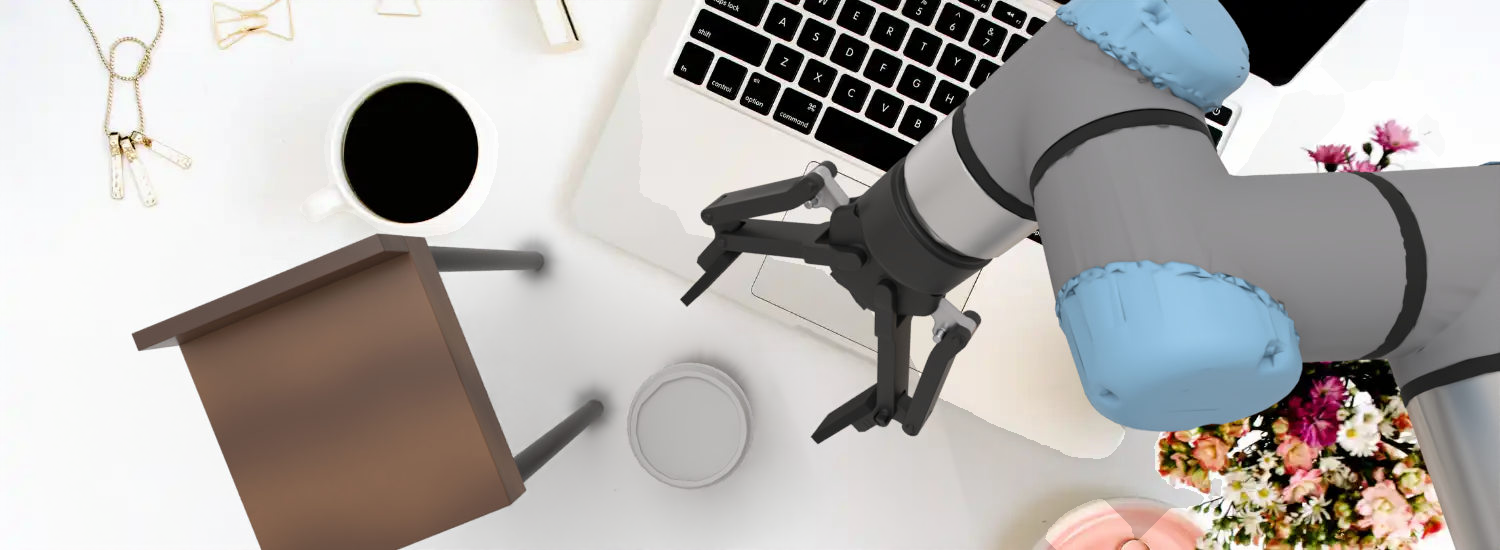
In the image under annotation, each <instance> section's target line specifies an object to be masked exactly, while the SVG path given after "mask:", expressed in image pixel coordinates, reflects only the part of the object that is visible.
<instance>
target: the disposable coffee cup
mask: <svg viewBox="0 0 1500 550" xmlns="http://www.w3.org/2000/svg"><path fill="white" fill-rule="evenodd" d="M754 428H755V425H754V414H753V411H752V407H751V404H750V401H749V400H748V397H747V395H746V394H745V392H744V390H743V389H742V388H741V387H740V385H739V384H738V383H737V381H736V380H734V379H733V378H732V377H731V376H730V375H729V374H728V373H726V372H725V371H722V370H720V369H719V368H717V367H714V366H712V365H709V364H705V363H701V362H680V363H675V364H670V365H668V366H666V367H663V368H661V369H659V370H658V371H656V372H654V373H653V374H652V375H650V376H649V377H648V378H647V379H646V380H645V381H644V382H643V383H642V384H641V386H639V388H638V389H637V391H636V392H635V394H634V396H633V398H632V399H631V402H630V405H629V409H628V413H627V417H626V432H627V438H628V444H629V446H630V448H631V451H632V453H633V456H634V457H635V459H636V461H637V463H639V465H640V466H641V468H643V469H644V470H645V472H647V474H649V475H650V476H651V477H653V478H655V479H656V481H658V482H660V483H663V484H665V485H667V486H670V487H672V488H677V489H681V490H700V489H706V488H710V487H712V486H714V485H717V484H719V483H721V482H723V481H724V480H726V479H728V478H729V477H730V476H732V475H733V474H734V473H735V471H737V469H739V468H740V467H741V465H742V464H743V462H744V461H745V459H746V458H747V455H748V453H749V450H750V448H751V445H752V442H753V438H754Z"/></svg>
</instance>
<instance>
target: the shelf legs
mask: <svg viewBox="0 0 1500 550" xmlns="http://www.w3.org/2000/svg"><path fill="white" fill-rule="evenodd" d="M428 246H429V249H430V251H431V254H432V256H433V259H434V261H435V264H436V266H437V269H438V271H439V273H456V272H457V273H458V272H459V273H461V272H494V271H495V272H496V271H497V272H498V271H499V272H501V271H503V272H504V271H536V270H540V269H541V268H542V267H543V266H544V264H545V258H544V256H543V254H542V253H540V252H539V251H535V250H533V251H532V250H517V249H516V250H514V249H513V250H512V249H495V248H477V247H476V248H475V247H474V248H473V247H459V246H458V247H457V246H456V247H455V246H436V245H428ZM603 413H604V405H603V403H602V402H601V400H598V399H591V400H588V401H587V402H586V403H585V404H583V405H582V406H581V407H579V408H578V409H577V410H575V411H574V412H573V413H571V414H570V415H569V416H567V417H566V418H564V419H563V420H562V421H560V422H559V423H558V424H557V425H555V426H554V427H552V428H551V429H550V430H549V431H547V432H546V433H545V434H543V435H542V436H541V437H539V438H538V439H536V440H535V441H534V442H532V443H530V445H529V446H527V447H526V448H524V449H523V450H521V451H520V452H519V453H518V454H516V455H515V456H513V458H514V460H515V463H516V465H517V468H518V470H519V473H520V475H521V478H522V480H523V483H524V484H525V482H527V481H528V480H529V479H531V477H532V476H534V475H535V474H536V473H538V471H539V470H540V469H541V468H543V467H544V466H545V465H546V464H548V462H549V461H550V460H552V459H553V458H554V457H555V456H556V455H557V454H558V453H559V452H561V451H562V450H563V449H564V448H566V446H568V445H569V444H570V443H571V442H573V440H575V439H576V438H577V437H578V436H579V435H580V434H581V433H582V432H583V431H584V430H586V429H587V428H588V427H589V426H590V425H592V423H594V422H595V421H596V420H597V419H598V418H599V417H601V416H602V414H603Z"/></svg>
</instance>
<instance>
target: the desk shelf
mask: <svg viewBox="0 0 1500 550" xmlns="http://www.w3.org/2000/svg"><path fill="white" fill-rule="evenodd" d="M429 246H430V245H429V244H428V242H427V239H426V237H425V236H414V235H402V234H390V233H378V232H377V233H375V234H373V235H370V236H367V237H365V238H363V239H360V240H358V241H355V242H352V243H350V244H348V245H345V246H343V247H339V248H338V249H336V250H333V251H331V252H328V253H326V254H323V255H321V256H318V257H316V258H313V259H311V260H308V261H306V262H303V263H301V264H299V265H296V266H294V267H291V268H289V269H287V270H284V271H281V272H279V273H276V274H274V275H272V276H269V277H266V278H265V279H262V280H260V281H257V282H255V283H251V284H250V285H247V286H245V287H243V288H240V289H238V290H234V291H233V292H230V293H228V294H225V295H223V296H220V297H218V298H215V299H213V300H210V301H207V302H206V303H203V304H200V305H198V306H195V307H194V308H191V309H188V310H186V311H183V312H181V313H179V314H175V315H174V316H171V317H169V318H167V319H164V320H161V321H159V322H156V323H154V324H152V325H149V326H147V327H144V328H142V329H140V330H137V331H135V332H132V333H131V336H132V339H133V342H134V345H135V346H136V349H137V351H138V352H143V351H144V352H145V351H150V350H151V351H152V350H157V349H165V348H171V347H179V350H180V353H181V354H182V357H183V359H184V361H185V364H186V367H187V369H188V372H189V375H190V377H191V379H192V382H193V385H194V387H195V389H196V391H197V394H198V397H199V399H200V402H201V404H202V406H203V409H204V411H205V414H206V416H207V420H208V421H209V424H210V426H211V429H212V432H213V434H214V436H215V439H216V441H217V444H218V446H219V448H220V452H221V454H222V457H223V459H224V461H225V464H226V466H227V469H228V471H229V474H230V476H231V479H232V481H233V483H234V486H235V489H236V492H237V494H238V497H239V499H240V501H241V503H242V506H243V509H244V511H245V514H246V516H247V518H248V521H249V523H250V526H251V529H252V531H253V533H254V536H255V539H256V542H257V544H258V546H259V548H260V550H401V549H404V548H406V547H409V546H412V545H414V544H417V543H419V542H421V541H424V540H426V539H429V538H431V537H434V536H437V535H439V534H442V533H445V532H447V531H450V530H452V529H454V528H457V527H459V526H463V525H465V524H467V523H469V522H472V521H475V520H477V519H480V518H482V517H485V516H487V515H490V514H492V513H495V512H497V511H500V510H502V509H505V508H508V507H510V506H511V505H513V504H514V503H515V502H516V501H517V500H518V499H519V498H520V497H521V496H523V495H524V494H525V493H526V492H527V488H526V486H525V482H524V483H523V480H522V478H521V475H520V473H519V470H518V468H517V465H516V463H515V460H514V455H513V453H512V451H511V448H510V446H509V443H508V441H507V438H506V435H505V433H504V430H503V428H502V425H501V423H500V421H499V417H498V416H497V413H496V411H495V408H494V406H493V403H492V401H491V398H490V396H489V394H488V390H487V389H486V386H485V383H484V381H483V378H482V376H481V373H480V371H479V369H478V366H477V364H476V361H475V359H474V355H473V354H472V351H471V349H470V346H469V343H468V342H467V339H466V337H465V333H464V331H463V328H462V326H461V324H460V321H459V319H458V316H457V314H456V311H455V309H454V306H453V304H452V302H451V299H450V296H449V294H448V291H447V289H446V286H445V284H444V282H443V279H442V276H441V274H440V272H439V271H438V269H437V266H436V264H435V261H434V259H433V256H432V254H431V251H430V249H429Z"/></svg>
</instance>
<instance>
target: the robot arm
mask: <svg viewBox="0 0 1500 550" xmlns="http://www.w3.org/2000/svg"><path fill="white" fill-rule="evenodd" d="M1249 55H1250V50H1249V48H1248V44H1247V42H1246V40H1245V37H1244V36H1243V34H1242V32H1241V30H1240V28H1239V27H1238V25H1237V24H1236V21H1235V20H1234V19H1233V18H1232V16H1231V15H1230V14H1229V12H1228V11H1227V10H1226V8H1225V7H1224V6H1223V4H1222V3H1221V2H1220V1H1219V0H1070V1H1069V2H1067V3H1066V4H1062V5H1060V6H1059V7H1058V8H1057V9H1056V10H1055V14H1054V15H1053V17H1051V18H1050V19H1049V20H1048V21H1047V22H1046V23H1045V24H1044V25H1043V26H1042V27H1040V28H1039V29H1038V30H1037V32H1035V33H1034V34H1033V35H1032V36H1031V37H1030V38H1029V39H1028V40H1027V41H1026V42H1025V43H1023V45H1022V46H1020V47H1019V48H1018V50H1016V51H1015V52H1014V53H1013V54H1012V55H1011V56H1010V57H1009V58H1008V59H1007V60H1006V61H1005V62H1003V64H1001V66H1000V67H999V68H997V70H995V71H994V72H993V73H992V74H991V75H990V76H989V77H988V78H987V79H986V80H985V81H984V82H982V84H980V85H979V86H978V87H977V88H976V89H975V90H974V91H973V92H972V93H971V94H970V95H969V96H968V97H967V98H966V99H965V100H964V101H963V102H961V104H960V105H958V106H957V107H955V108H954V109H953V110H952V111H951V112H950V113H949V114H948V115H946V117H945V118H943V119H942V120H941V121H940V122H939V123H938V124H937V125H935V127H934V128H933V129H931V130H930V131H929V132H928V133H927V134H926V135H925V136H924V137H923V138H921V140H920V141H918V142H917V143H916V144H915V145H914V146H913V147H912V148H911V149H910V151H909V152H908V153H907V155H906V156H904V157H901V159H899V160H898V161H897V162H896V163H895V164H894V165H892V166H891V167H890V168H889V169H888V170H887V171H886V172H885V173H884V174H883V175H882V176H881V177H880V178H879V179H877V180H876V181H875V182H874V183H873V184H872V185H871V186H870V187H869V188H868V189H867V190H866V191H865V192H863V194H860V195H858V196H853V197H849V196H848V195H847V193H846V192H845V191H844V190H843V188H842V187H841V186H840V185H839V183H838V182H837V181H836V179H835V178H836V177H837V176H838V167H837V165H836V164H835V163H834V162H832V161H830V160H824V161H821V162H820V163H819V164H818V165H816V166H815V167H814V168H812V169H811V170H810V171H809V172H807V173H806V174H804V175H800V176H794V177H791V178H790V177H789V178H786V179H782V180H778V181H774V182H769V183H764V184H761V185H760V184H759V185H755V186H752V187H747V188H742V189H738V190H734V191H729V192H725V193H723V194H721V195H720V196H719V197H717V198H716V199H715V200H714V201H711V203H710V204H709V205H707V206H706V207H705V208H703V209H702V210H701V211H700V219H701V221H702V222H703V223H704V224H705V225H707V226H709V227H712V229H713V232H714V238H713V239H712V241H711V242H710V243H709V244H708V245H707V246H706V247H705V248H704V249H703V250H702V252H701V253H699V255H698V256H697V259H696V264H697V265H698V266H699V267H700V268H701V270H703V271H704V273H703V274H702V275H701V276H700V277H699V279H697V281H695V283H694V284H693V285H692V286H691V287H690V288H689V289H688V290H686V292H685V293H684V294H683V295H682V296H681V298H680V299H679V300H680V301H681V303H682V304H683V305H684V306H685V307H687V308H688V307H689V306H690V305H691V304H692V303H693V302H695V301H696V299H697V298H699V297H700V296H701V295H702V294H703V293H705V292H706V291H707V290H708V289H709V288H710V287H712V285H713V284H714V283H715V282H716V281H717V280H718V279H719V278H720V277H721V276H722V275H723V274H724V273H725V272H726V270H728V269H729V267H730V266H732V264H733V263H734V262H736V260H737V259H738V258H739V257H740V256H741V255H742V254H743V253H745V254H753V255H764V256H772V257H781V258H791V259H800V260H803V261H804V264H807V265H812V266H813V265H814V266H823V267H829V269H830V271H831V272H830V273H829V276H830V277H831V278H832V279H833V280H834V281H835V282H836V283H837V284H838V285H840V286H841V287H842V288H844V289H845V290H847V291H848V293H849V295H851V297H852V299H853V301H855V303H856V304H857V305H858V306H859V307H860V308H861V309H862V310H863V311H866V310H869V311H870V312H873V313H874V325H873V326H874V333H873V334H874V337H877V350H876V351H877V356H876V357H877V361H876V362H877V363H876V383H874V384H873V385H871V386H869V387H867V388H866V389H864V390H863V391H862V392H860V393H858V394H857V395H855V396H854V397H852V398H850V399H849V400H848V401H845V403H843V404H842V405H839V406H838V407H837V408H834V410H831V411H830V412H828V413H827V415H826V416H825V417H824V419H823V420H822V422H820V424H819V425H818V427H817V428H816V429H815V430H814V432H813V433H812V434H811V436H810V438H811V440H813V441H814V443H816V445H819V444H821V443H823V442H825V441H826V440H828V439H830V438H831V437H833V436H834V435H836V434H838V433H840V432H841V431H843V430H845V429H846V428H848V427H849V426H852V427H853V428H854V429H855V430H856V431H857V432H858V433H866V432H868V431H869V430H870V429H873V428H874V427H876V426H878V427H880V428H887V427H888V426H889V424H890V423H891V422H892V420H894V421H895V422H898V423H899V424H901V429H902V431H903V433H905V434H906V435H907V436H910V437H916V436H918V435H919V434H920V432H921V430H922V429H923V427H924V426H925V424H926V423H927V422H928V420H929V418H930V416H931V415H932V414H933V412H934V409H935V406H936V405H937V402H938V399H939V397H940V395H941V392H942V390H943V388H944V385H945V383H946V380H947V378H948V377H949V374H950V371H951V369H952V367H953V364H954V361H955V359H956V357H957V355H958V354H959V353H960V352H961V351H962V350H964V349H965V348H966V347H967V346H968V344H969V342H970V341H971V339H972V338H973V337H974V335H975V333H976V332H977V330H978V329H979V327H980V325H981V323H982V317H981V316H980V314H979V313H978V312H977V311H975V310H972V309H967V310H965V311H963V312H962V311H960V310H959V308H958V307H956V306H955V305H954V304H953V303H952V302H951V301H949V300H948V299H947V298H946V296H947V294H948V293H950V292H951V291H952V290H954V289H955V288H957V287H958V286H960V285H961V284H962V283H964V282H965V281H966V280H968V279H969V278H971V277H972V276H974V275H975V274H976V273H978V272H979V271H981V270H982V269H984V268H985V267H986V266H988V265H989V264H991V262H993V260H994V259H996V258H1000V256H1002V255H1004V254H1005V253H1006V252H1008V251H1009V250H1011V249H1012V248H1013V247H1015V246H1016V245H1018V244H1020V243H1021V242H1022V241H1023V240H1025V239H1026V238H1027V237H1030V235H1032V234H1033V233H1034V232H1036V231H1037V230H1038V232H1039V235H1040V240H1041V245H1042V248H1043V253H1044V257H1045V261H1046V262H1045V263H1046V266H1047V270H1048V275H1049V279H1050V283H1051V287H1052V292H1053V297H1054V301H1055V305H1054V311H1055V316H1056V317H1057V319H1058V326H1059V328H1060V329H1061V331H1062V333H1063V335H1064V337H1065V339H1066V341H1067V344H1068V347H1069V350H1070V354H1071V356H1072V359H1073V362H1074V365H1075V368H1076V369H1075V370H1076V371H1077V374H1078V377H1079V381H1080V383H1081V386H1082V389H1083V392H1084V395H1085V397H1086V398H1087V400H1088V402H1089V403H1090V405H1091V406H1092V407H1093V409H1094V410H1095V411H1096V412H1098V413H1099V414H1100V415H1101V416H1103V417H1104V418H1106V419H1108V420H1109V421H1110V422H1113V423H1114V424H1117V425H1119V426H1123V427H1125V428H1130V429H1133V430H1138V431H1144V432H1145V431H1146V432H1147V431H1148V432H1158V433H1159V432H1160V433H1161V432H1162V433H1166V432H1167V433H1168V432H1169V433H1170V432H1171V433H1173V432H1186V431H1192V430H1194V429H1197V428H1200V427H1202V426H1207V425H1211V424H1212V425H1225V424H1228V423H1233V422H1236V421H1240V420H1243V419H1245V418H1248V417H1251V416H1253V415H1256V414H1258V413H1261V412H1263V411H1265V410H1267V409H1269V408H1270V407H1272V406H1274V405H1276V404H1277V403H1278V402H1280V401H1281V400H1283V399H1284V398H1286V397H1287V396H1288V395H1289V394H1290V393H1291V392H1292V391H1293V390H1294V389H1295V387H1296V385H1298V382H1299V381H1300V377H1301V375H1302V372H1303V363H1317V362H1318V363H1319V362H1320V363H1322V362H1344V361H1345V362H1347V361H1349V362H1351V361H1352V362H1355V361H1357V362H1358V361H1374V360H1387V362H1388V364H1389V367H1390V369H1391V373H1392V375H1393V379H1394V381H1395V383H1396V385H1397V387H1398V389H1399V395H1400V398H1401V401H1402V404H1403V407H1404V408H1405V410H1406V412H1407V415H1408V417H1409V420H1410V424H1411V426H1412V429H1413V432H1414V435H1415V437H1416V441H1417V444H1418V446H1419V449H1420V452H1421V455H1422V459H1423V461H1424V464H1425V466H1426V469H1427V472H1428V475H1429V478H1430V482H1431V483H1432V487H1433V489H1434V492H1435V496H1436V498H1437V501H1438V504H1439V506H1440V509H1441V512H1442V515H1443V518H1444V521H1445V524H1446V527H1447V529H1448V533H1449V535H1450V538H1451V541H1452V544H1453V547H1454V549H1455V550H1500V161H1495V160H1494V161H1487V162H1485V163H1481V164H1479V165H1471V166H1468V165H1467V166H1454V167H1452V166H1451V167H1438V168H1437V167H1435V168H1434V167H1433V168H1419V169H1418V168H1417V169H1401V170H1383V171H1370V172H1369V171H1356V170H1355V171H1326V172H1301V173H1276V174H1249V175H1234V174H1230V173H1229V171H1228V169H1227V168H1226V166H1225V164H1224V162H1223V161H1222V159H1221V157H1220V156H1219V154H1218V153H1219V152H1218V149H1217V147H1216V144H1215V142H1214V139H1213V136H1212V134H1211V132H1210V129H1209V127H1208V126H1209V125H1208V123H1207V122H1206V114H1207V113H1210V112H1215V110H1217V109H1221V108H1222V106H1223V103H1224V101H1225V100H1226V99H1227V98H1229V97H1230V96H1231V95H1232V94H1234V93H1235V92H1236V91H1238V90H1239V89H1240V88H1241V87H1242V86H1243V85H1244V84H1245V83H1246V81H1247V79H1248V77H1249V75H1250V66H1251V65H1250V61H1249V60H1250V57H1249ZM802 205H803V206H804V208H805V209H807V210H812V209H821V208H825V209H827V210H829V211H830V212H831V214H830V217H829V221H823V222H821V223H811V222H810V223H808V222H799V221H798V222H797V221H796V222H795V221H785V220H774V219H758V218H759V217H763V216H769V215H773V214H779V213H784V212H788V211H792V210H795V209H797V208H799V207H801V206H802ZM929 316H930V317H932V319H933V321H934V325H933V326H932V328H931V329H932V330H931V332H932V341H933V342H934V343H935V345H934V346H933V348H932V349H931V351H930V352H929V354H928V357H927V358H926V362H925V364H924V366H923V370H922V373H921V374H920V378H919V379H918V382H917V385H916V387H915V390H914V393H913V395H912V397H911V396H910V395H909V387H910V386H909V385H910V363H911V362H910V361H911V360H910V359H911V338H912V321H913V317H922V318H923V317H929Z"/></svg>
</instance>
